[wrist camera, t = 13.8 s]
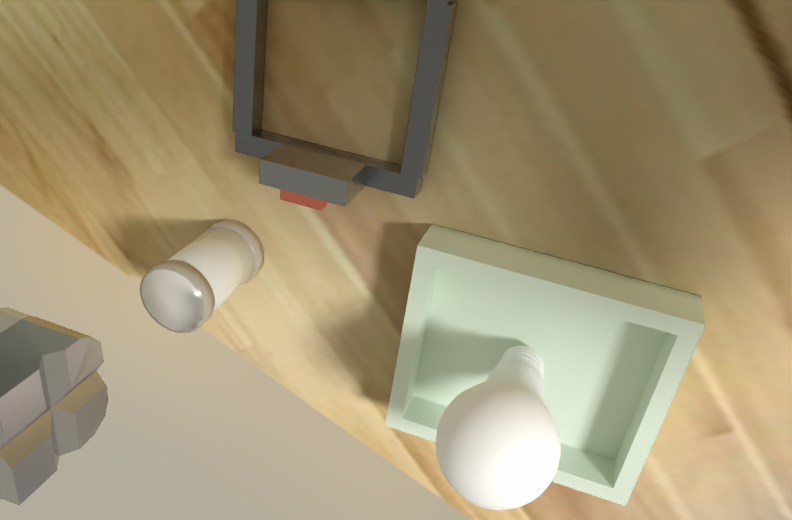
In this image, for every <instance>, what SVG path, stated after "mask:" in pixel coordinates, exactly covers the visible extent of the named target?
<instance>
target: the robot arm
mask: <svg viewBox="0 0 792 520" xmlns="http://www.w3.org/2000/svg"><path fill="white" fill-rule="evenodd" d="M103 362H104V360H103V354H102V349H101V343H100V342H99V341H97V340H96V339H94V338H92V337H91V336H88V335H85V334H82V333H79V332H77V331H74V330H71V329H68V328H66V327H63V326H60V325H57V324H54V323H51V322H49V321H46V320H43V319H40V318H38V317H33V316H30V315H27V314H24V313H22V312H19V311H16V310H13V309H10V308H0V498H1V499H4V500H7V501H9V502H12V503H15V504H18V505H20V504H21V503H23V502H24V501H25V500H26V499H27V498H28V497H29V496H30V495H31V494H32V493H33V492H34V491H35V490H36V489H38V488H39V487H40V486H41V485H42V484H43V483H44V482H45V481H46V480H47V479H48V478H49V477H50V476H51V475H53V474H54V472H56V470H57V465H58V460H59V456H60V455H63V454H66V453H69V452H72V451H74V450H77V449H80V448H81V447H82V446H83V445H84V444H85V443H86V442H87V441H88V440H89V439H90V438H91V437H92V436H93V435H94V434H95V433H96V431H97V429H98V427H99V425H100V424H101V422H102V420H103V418H104V416H105V413H106V408H107V403H108V394H107V386H106V384H105V383H104V381H103V380H102V379H101V377H100V375H99V374H98V373H97V371H96V370H97V369H98V368H99V367H100V365H101V364H102V363H103Z"/></svg>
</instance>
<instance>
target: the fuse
mask: <svg viewBox="0 0 792 520" xmlns="http://www.w3.org/2000/svg"><path fill="white" fill-rule="evenodd" d="M263 261H264V252H263V247H262V245H261V242H260V240H259V239H258V237H257V236H256V234H255V233H254V232H253V231H252V230H251V229H250V228H249V227H247V226H246V225H244V224H243V223H240V222H238V221H235V220H221V221H218V222H216V223H214V224H213V225H212V226H210V227H209V228H208V229H206V230H205V231H204V232H203V233H202V234H201V236H199V237H198V238H197V239H195V240H194V241H193V242H191V243H190V244H189V245H187V246H186V247H184V248H183V249H182V250H180V251H179V252H178V253H176V254H175V255H173V256H172V257H171V258H169V259H168V260H167V261H164V262H161V263H160V264H158V265H157V266H155V267H154V268H153V269H151V270H150V271H149V272H147V273H146V274H145V275H144V277H143V279H142V281H141V285H140V294H141V299H142V301H143V304H144V306H145V308H146V310H147V311H148V313H149V314H150V315H151V317H152V318H153V319H154V320H155V321H156V322H158V323H159V324H160V325H162V326H163V327H165V328H167V329H168V330H171V331H174V332H178V333H189V332H192V331H195V330H196V329H198V328H199V327H200V326H201V325H202V324H203V323H204V322H205V321H207V320H208V319H209V318H210V316H211V315H212V313H213V312H214V311H215V310H216V309H217V308H218V307H219V306H220V305H221V304H222V303H223V302H224V301H225V300H226V299H228V298H229V297H230V296H231V295H232V294H233V293H234V292H235V291H236V290H237V289H238V288H239V287H240V286H241V285H243V284H244V283H246V282H248V281H249V280H250V279H251V278H252V277H253V276H254V275H256V274H257V273H258V272H259V270H260V269H261V267H262V265H263Z"/></svg>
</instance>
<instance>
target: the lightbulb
mask: <svg viewBox="0 0 792 520" xmlns="http://www.w3.org/2000/svg"><path fill="white" fill-rule="evenodd" d="M544 368H545V367H544V361H543V359H542V357H541V355H540V354H539V353H538V352H537V351H535V350H534V349H532V348H530V347H526V346H514V347H511V348H509V349H508V350H506V351H505V353H504V354H503V356H502V358H501V359H500V362H499V364H498V365H497V366H496V367H495V368H493V370H492V371H491V373H490V375H489V377H488V379H487V380H486V381H485V382H482V383H479V384H477V385H475V386H473V387H471V388H469V389H467V390H465V391H463V392H462V393H460V394H459V395H458V396H456V397H455V398H454V399H453V401H452V402H451V403H450V404H449V405H448V406H447V408H446V409H445V410H444V412H443V415H442V417H441V419H440V422H439V424H438V428H437V435H436V453H437V460H438V463H439V465H440V468H441V470H442V473H443V475H444V476H445V478H446V480H447V481H448V483H449V484H450V485H451V486H452V487H453V489H454V490H455V491H456V492H457V493H458V494H459V495H461V496H462V497H463V498H464V499H466V500H467V501H469V502H471V503H473V504H475V505H477V506H480V507H483V508H487V509H493V510H505V509H512V508H517V507H520V506H523V505H525V504H527V503H529V502H531V501H533V500H534V499H536V498H538V497H539V496H540V495H541V494H542V493H543V492H544V490H545V489H546V488H547V487H548V486H549V484H550V483H551V481H552V479H553V477H554V476H555V474H556V472H557V469H558V465H559V461H560V456H561V443H560V436H559V432H558V428H557V425H556V423H555V421H554V419H553V417H552V415H551V413H550V411H549V409H548V408H547V406H546V405H545V403H544V391H545V389H544V382H543V376H544Z"/></svg>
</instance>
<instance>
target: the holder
mask: <svg viewBox="0 0 792 520" xmlns="http://www.w3.org/2000/svg"><path fill="white" fill-rule="evenodd" d="M425 1H427V7H426V13H425V19H424V26H423V32H422V39H421V45H420V51H419V58H418V64H417V70H416V77H415V83H414V90H413V96H412V102H411V109H410V115H409V122H408V128H407V134H406V141H405V147H404V153H403V160H402V166H401V165H397V164H393V163H389V162H385V161H381V160H377V159H373V158H369V157H365V156H361V155H358V154H354V153H350V152H346V151H342V150H338V149H334V148H330V147H326V146H322V145H318V144H314V143H310V142H306V141H302V140H298V139H294V138H290V137H287V136H283V135H279V134H275V133H271V132H267V131H263V130H261V128H262V108H263V87H264V66H265V46H266V25H267V4H268V0H236V29H235V66H234V103H233V131H235V132H236V144H235V151H236V152H240V153H243V154H247V155H251V156H255V157H259V158H261V159H260V171H259V183H260V184H264V185H268V186H271V187H275V188H279V189H281V193H280V199H281V200H285V201H288V202H292V203H296V204H299V205H303V206H307V207H310V208H314V209H318V210H322V209H323V208H324V207H325V206H326V205H327V202H330V203H334V204H338V205H341V206H346V205H347V204H348V203H349V202H350V201H351V200H352V199H353V198H354V197H355V196H356V195H357V194H358V193H359V192H360V191H361V190H362V189H363V188H364V187H365V186H369V187H373V188H377V189H380V190H384V191H388V192H392V193H396V194H399V195H403V196H407V197H411V198H415V197H416V196H417V194H418V193H419V192H420V189H421V184H422V178H423V176H424V175H425V174H426V173H427V170H428V164H429V158H430V153H431V147H432V141H433V136H434V130H435V124H436V119H437V113H438V108H439V102H440V96H441V91H442V85H443V79H444V74H445V68H446V62H447V57H448V51H449V45H450V40H451V34H452V28H453V23H454V17H455V11H456V6H457V3H454V2H453V0H425Z"/></svg>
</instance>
